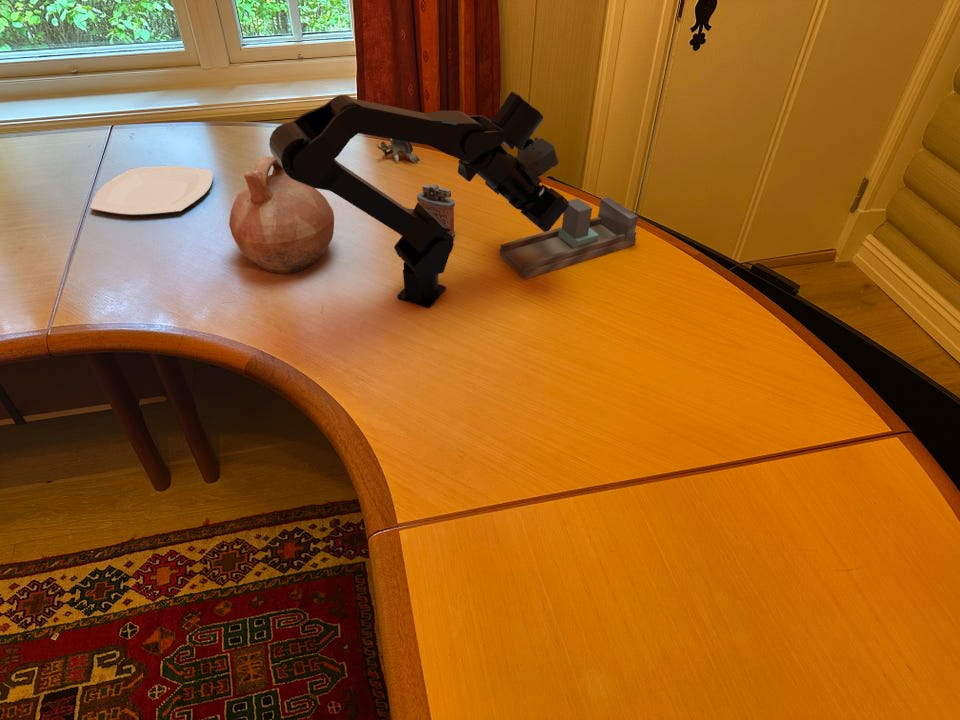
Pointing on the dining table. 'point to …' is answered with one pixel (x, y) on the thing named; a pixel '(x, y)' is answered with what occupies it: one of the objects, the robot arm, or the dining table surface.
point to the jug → (280, 220)
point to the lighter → (438, 204)
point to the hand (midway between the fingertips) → (549, 215)
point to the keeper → (577, 225)
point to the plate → (153, 190)
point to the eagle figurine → (399, 150)
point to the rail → (555, 253)
